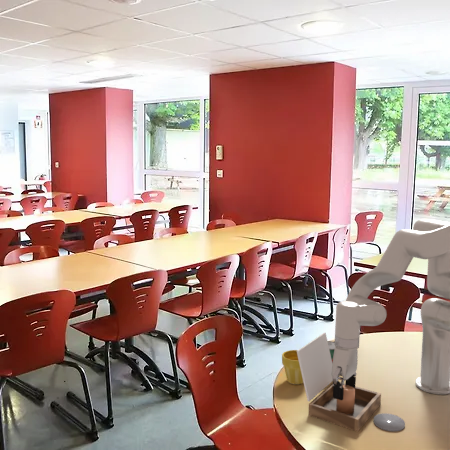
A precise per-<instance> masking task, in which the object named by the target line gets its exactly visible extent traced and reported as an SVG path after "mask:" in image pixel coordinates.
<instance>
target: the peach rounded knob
mask: <svg viewBox="0 0 450 450" xmlns="http://www.w3.org/2000/svg"><path fill="white" fill-rule="evenodd" d="M343 388H344V395H343V400H339V399H337V404H336V409H337V411H338V412H341V413H344V414H352V413H353V412H354V406H355V389H354V388H353V387H352V386H349V385H343Z"/></svg>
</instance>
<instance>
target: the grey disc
mask: <svg viewBox="0 0 450 450" xmlns="http://www.w3.org/2000/svg"><path fill="white" fill-rule="evenodd" d="M373 423H374V425H375V426H376V427H377V428H379V429H381V430H383V431H386V432H387V431H388V432H400V431H402V430H404V429H405V427H406V426H405V425H406V422H405V420H404V419H403V418H402V417H400V416H398V415H395V414H392V413H386V412H385V413H377V414H376V415H374V417H373Z"/></svg>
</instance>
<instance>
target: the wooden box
mask: <svg viewBox="0 0 450 450" xmlns="http://www.w3.org/2000/svg"><path fill="white" fill-rule="evenodd" d="M339 382H340V384H341V381H339ZM343 385H345V382H344V384H343ZM317 395H318V396H317ZM317 395H316V396H315V397H314V398H313V399H312V400H311V401H310V402H309V403H308V416H309V417H312V418H314V419H318V420H321V421H325V422H326V423H327V422H328V423H330V424H332V425H336V426H339V427H343V428H346V429H349V430H350V431H351V430H352V431H355V432H359V431H360V430H361V429H362V427H363V426H364V425H365V424H366V422H368V420H369V419H370V418H371V416H372V415H373V414H374V413H375V412H376V410H378V408H379V407H380V406H381V403H382V393H380V392H377V391H373V390H369V389H366V388H363V387H358V386H356V385H355V406H354V412H353V413H352V414H344V413H341V412H338V411H337V409H336V404H337V399H336V398H333V382H331V383H330V384H329V385H328V386H326V387H325V388H324V389H323V390H322V391H321V392H320V393H319V394H317Z"/></svg>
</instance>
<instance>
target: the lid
mask: <svg viewBox="0 0 450 450" xmlns="http://www.w3.org/2000/svg"><path fill="white" fill-rule="evenodd" d="M327 337H328V336H327V334H326V332H323V333H322V334H319V336H318V337H317V336H316V338H314V339H313V340H311V341H310V342H308V343H307V344H305V345H303V346H302V347H300V348H299V349H296V350H297V355H298V360H299V364H300V369H301V373H302V378H303V382H304V383H303V386H304V391H305V395H306V400H307V402H311V401H313V400H314V399H315V398H316V397H317V395H319V394H321V393H322V392H323V391H324V390H325V389H326V388H327V387H328V386H330V385H331V384H332V383H333V379H332V359H331V355H330V350H329V346H328V341H329V340H328V338H327Z"/></svg>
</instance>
